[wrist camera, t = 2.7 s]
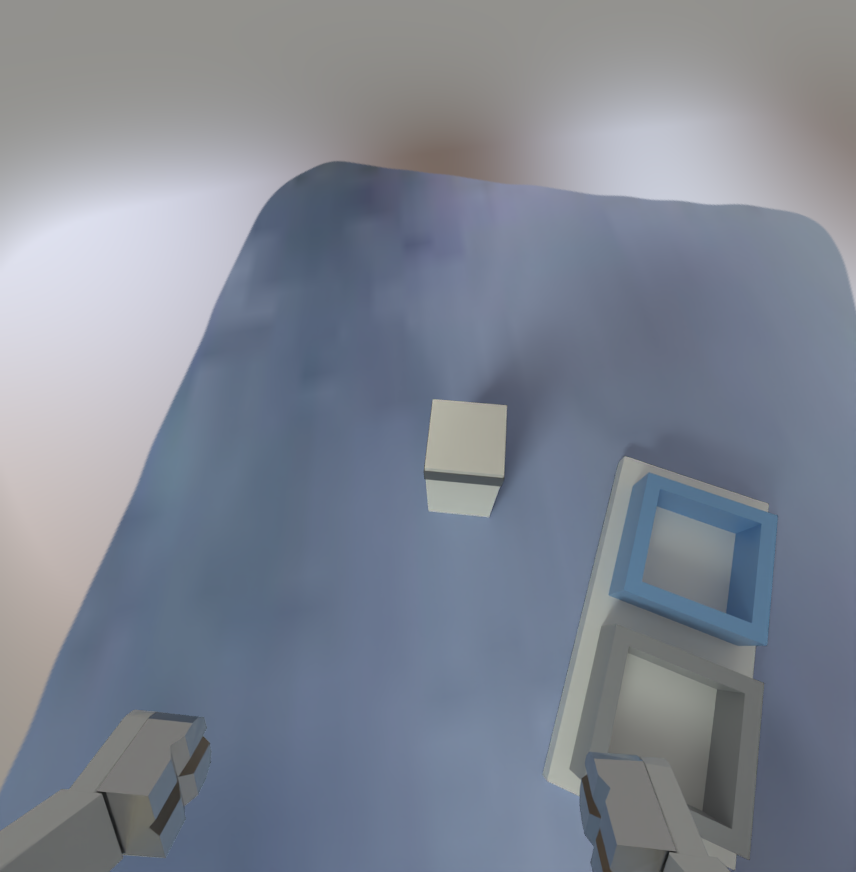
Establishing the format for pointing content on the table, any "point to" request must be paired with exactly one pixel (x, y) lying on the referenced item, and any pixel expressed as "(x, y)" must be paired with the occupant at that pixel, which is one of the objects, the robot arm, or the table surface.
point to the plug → (465, 457)
